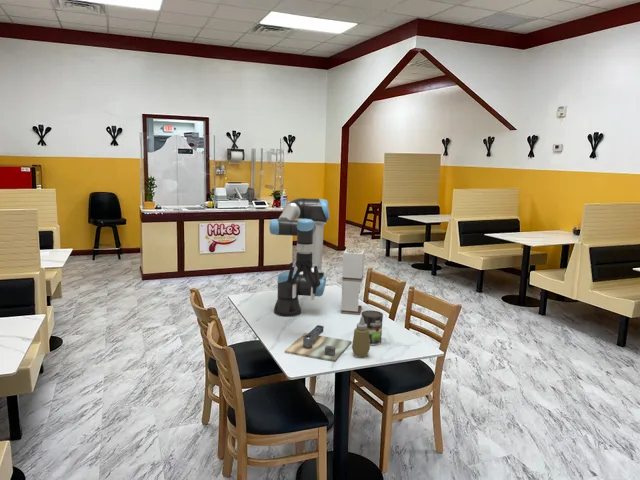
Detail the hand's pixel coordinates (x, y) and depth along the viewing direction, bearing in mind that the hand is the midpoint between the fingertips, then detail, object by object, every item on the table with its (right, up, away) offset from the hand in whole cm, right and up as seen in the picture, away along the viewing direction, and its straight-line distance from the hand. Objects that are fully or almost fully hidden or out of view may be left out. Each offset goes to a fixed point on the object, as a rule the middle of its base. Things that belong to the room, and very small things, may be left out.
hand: (303, 298), depth 236 cm
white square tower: (+26, -13, +49) cm, 57 cm away
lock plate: (+7, -22, -6) cm, 24 cm away
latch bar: (+5, -20, -2) cm, 20 cm away
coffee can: (+32, -21, +4) cm, 39 cm away
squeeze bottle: (+26, -24, -13) cm, 38 cm away
